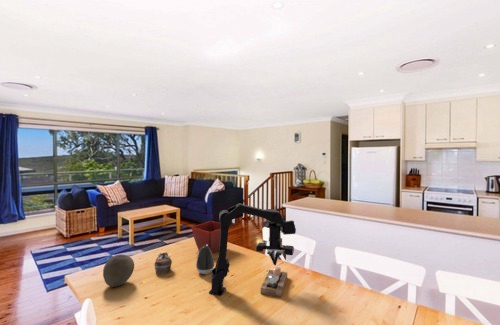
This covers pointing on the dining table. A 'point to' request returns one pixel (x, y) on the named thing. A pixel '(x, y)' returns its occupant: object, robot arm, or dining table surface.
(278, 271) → the peach egg-shaped piece
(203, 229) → the plant pot
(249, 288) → the dining table surface
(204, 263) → the dark grey ovoid piece
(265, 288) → the brown wooden tray
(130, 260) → the dark grey stone
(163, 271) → the cupcake
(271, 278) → the plug metal near
